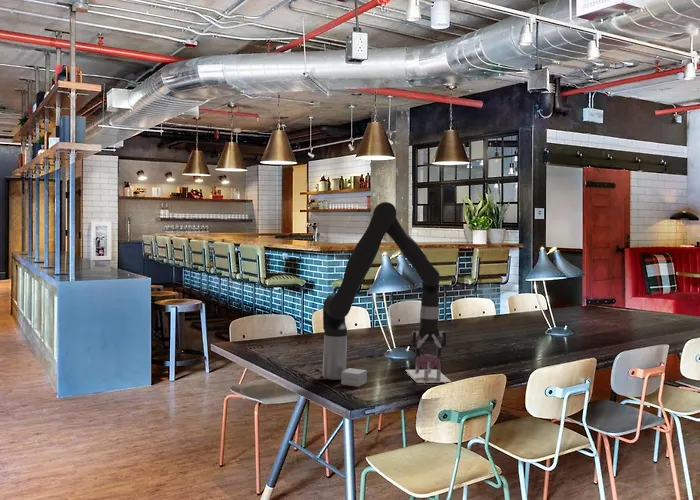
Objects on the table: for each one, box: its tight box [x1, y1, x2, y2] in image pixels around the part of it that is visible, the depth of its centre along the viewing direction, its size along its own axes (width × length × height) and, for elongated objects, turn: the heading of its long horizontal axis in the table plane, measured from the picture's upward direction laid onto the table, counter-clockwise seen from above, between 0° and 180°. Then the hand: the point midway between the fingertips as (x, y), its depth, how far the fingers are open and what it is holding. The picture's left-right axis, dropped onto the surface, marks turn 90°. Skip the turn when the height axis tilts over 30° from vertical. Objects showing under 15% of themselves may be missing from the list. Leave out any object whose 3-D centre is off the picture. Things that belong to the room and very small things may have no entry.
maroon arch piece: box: [415, 353, 442, 370], centre depth 257 cm, size 10×5×7 cm, turn 92°
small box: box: [340, 367, 368, 388], centre depth 246 cm, size 8×8×5 cm
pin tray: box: [405, 362, 452, 385], centre depth 258 cm, size 14×20×5 cm
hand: (428, 356), depth 257 cm, fingers closed on maroon arch piece, 7 cm apart
